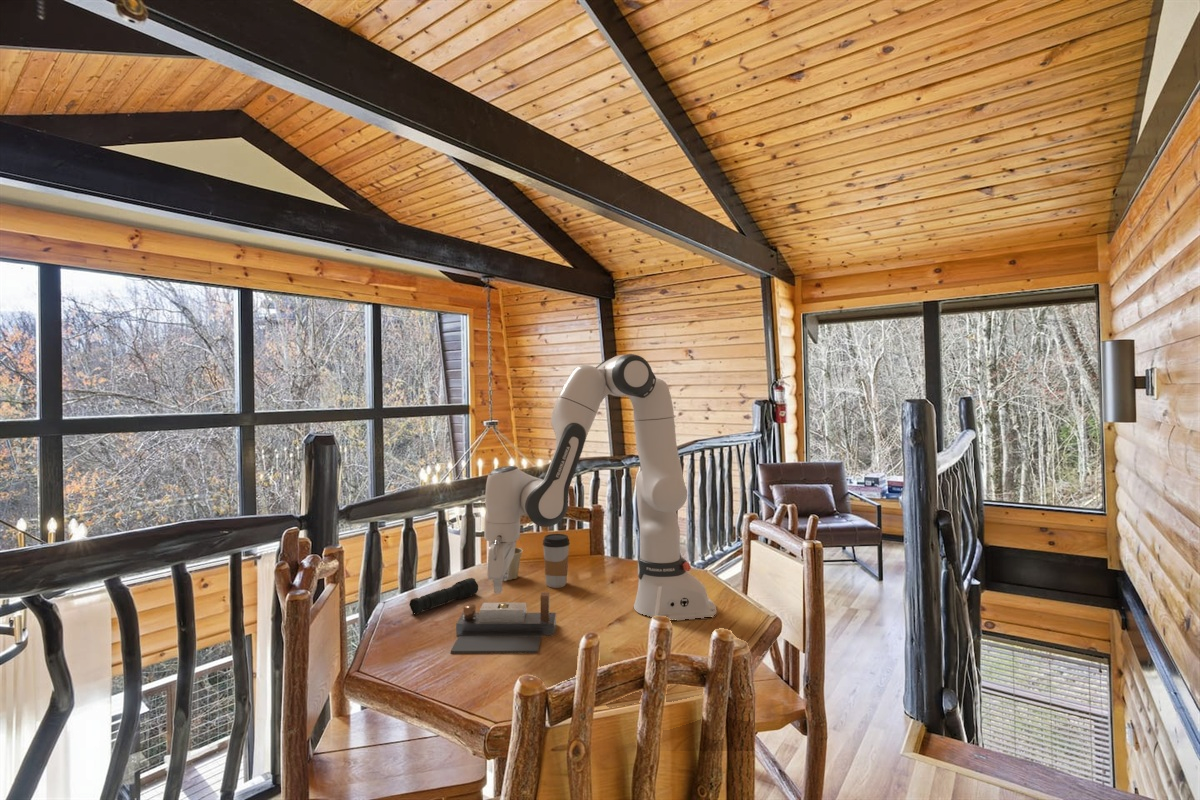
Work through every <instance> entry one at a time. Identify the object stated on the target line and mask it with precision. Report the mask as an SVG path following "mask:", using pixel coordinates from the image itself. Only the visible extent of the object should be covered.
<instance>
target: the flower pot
mask: <svg viewBox="0 0 1200 800" xmlns="http://www.w3.org/2000/svg"><path fill="white" fill-rule="evenodd" d="M523 552H524V551H523V549H522V548H520V547H515V554H514V557H513V559H512V561H511V563H510V565H509V572H508V579H507V581H512V580H515V579H518V577H519V569H520V563H521V557H522V554H523Z"/></svg>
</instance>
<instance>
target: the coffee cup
mask: <svg viewBox="0 0 1200 800" xmlns="http://www.w3.org/2000/svg"><path fill="white" fill-rule="evenodd" d="M542 545H543V560H544V561H543V564H544V576H545V583H546V586H547V587H548V588H553V589H554V588H555V589H556V588H557V589H558V588H563V587H565V586H566V585H567V579H568V569H569V549H570V539H569V536H568V535H567V534H564V533H550V534H546V535H544V537H543V540H542Z"/></svg>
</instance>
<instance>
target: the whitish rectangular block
mask: <svg viewBox="0 0 1200 800" xmlns="http://www.w3.org/2000/svg"><path fill="white" fill-rule="evenodd" d="M501 603H502V602H483V603H482V605H481V607H480V609H478V610H479V612H478V613H479V622H524V620H525V617H526V613H527V602H505V603H506V604H507V608H500V604H501Z"/></svg>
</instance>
